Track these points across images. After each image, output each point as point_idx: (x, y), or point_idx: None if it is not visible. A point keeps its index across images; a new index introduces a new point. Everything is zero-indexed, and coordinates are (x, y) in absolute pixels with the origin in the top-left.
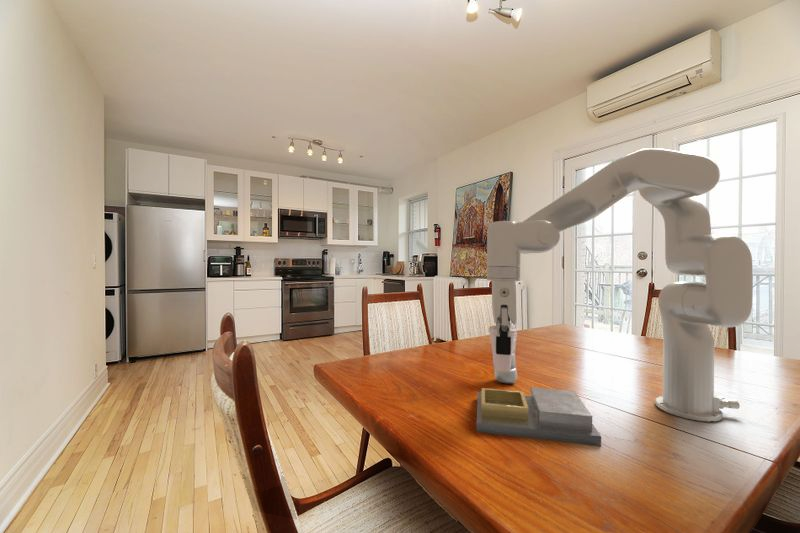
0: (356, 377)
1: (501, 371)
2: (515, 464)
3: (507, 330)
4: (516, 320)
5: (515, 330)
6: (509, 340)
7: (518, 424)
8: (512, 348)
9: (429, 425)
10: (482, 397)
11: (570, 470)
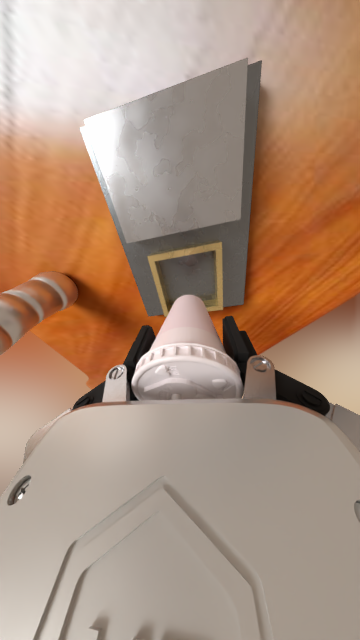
0: None
1: (67, 299)
2: (312, 249)
3: (323, 397)
4: (338, 438)
5: (207, 358)
6: (244, 347)
7: (237, 254)
8: (199, 318)
9: None
10: None
11: (334, 164)
